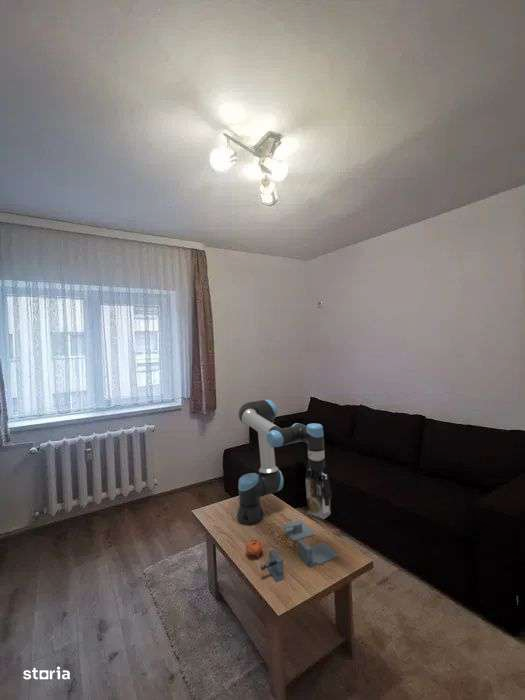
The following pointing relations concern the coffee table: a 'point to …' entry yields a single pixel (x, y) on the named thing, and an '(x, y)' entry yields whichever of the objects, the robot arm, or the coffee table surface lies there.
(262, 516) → the robot arm
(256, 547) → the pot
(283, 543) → the coffee table surface
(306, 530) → the shower valve
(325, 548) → the pad
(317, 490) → the coffee box
